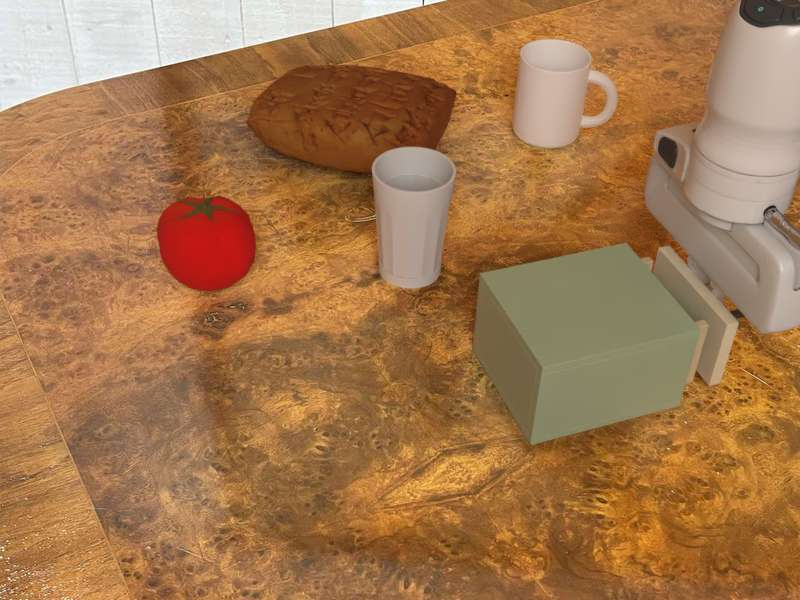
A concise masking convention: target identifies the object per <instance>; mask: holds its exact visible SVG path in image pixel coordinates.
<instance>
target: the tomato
mask: <svg viewBox="0 0 800 600" xmlns="http://www.w3.org/2000/svg"><path fill="white" fill-rule="evenodd" d="M176 199H177V201H175V202H172V203H171V204H169V205H167V207H166V208H165V209H163V211H162V213H161V215H160V216H159V218H158V221H157V226H156V236H157V241H158V248H159V255H160V258H161V261H162V262H163V264H164V266H165V268H166V269H167V271H168V273H170V275H171V276H172V277H173V278H174V279H175V280H176V281H178V282H179V283H180V284H182V285H183V286H185V287H188V288H190V289H192V290H198V291H206V292H212V291H217V290H223V289H224V290H225V289H228V288H230V287H232V286H233V285H235V284H236V283H237V282H240V280H242V279H243V278H245V277H246V276H247V274H248V273H249V271H250V269H251V268H252V266H253V265H254V262H255V259H256V249H257V242H256V241H257V240H256V232H255V231H254V226H253V224H252V220H251V217H250V214H248V213H247V211H246V210H245V209H244V208H243V207H242V206H241V205H240V204H239V203H236V202H235V201H233V200H232V199H230V198H228V197H225V196H221V195H216V196H214V195H212V196H210V197H207V198H198V197H190V196H188V197H185V198H183V199H182V198H179V197H176Z"/></svg>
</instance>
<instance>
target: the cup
mask: <svg viewBox="0 0 800 600" xmlns="http://www.w3.org/2000/svg"><path fill="white" fill-rule="evenodd" d="M371 174H372V175H371V177H372V187H373V188H372V189H373V198H374V199H373V200H374V212H375V228H376V239H377V240H376V241H377V253H378V254H377V255H378V273H379V275H380V277H381V278H382V280H384V281H385V282H386V283H388V284H390V285H392V286H393V287H396V288H400V289H406V290H407V289H408V290H409V289H410V290H411V289H412V290H413V289H420V288H425V287H428V286H430V285H432V284H433V283H435V282H436V281H437V280H438V279H439V278H440V275H441V273H442V271H441V270H442V256H443V255H442V254H443V250H444V244H445V238H446V232H447V231H446V230H447V225H448V219H449V213H450V208H451V207H450V206H451V203H452V199H453V194H454V190H455V189H454V188H455V182H456V178H457V167H456V165H455V162H454V161H453V160H452V159H451V158H450V157H449V156H447V155H446V154H445V153H442V152H440V151H438V150H435V149H434V150H432V149H429V148H423V147H400V148H395V149H392V150H389V151H386V152H384V153H383V154H381V155H380V156H378V157H377V158H376V159H375V161H374V162H373V165H372V173H371Z"/></svg>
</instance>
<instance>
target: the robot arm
mask: <svg viewBox="0 0 800 600" xmlns="http://www.w3.org/2000/svg"><path fill="white" fill-rule="evenodd" d="M731 9H732V10H731V11H730V13H729V15H728V17H727V19H726V21H725V24H724V26H723V28H722V31H721V33H720V35H719V38H718V42H717V44H716V48H715V50H714V54H713V58H712V61H711V66H710V68H709V72H708V77H707V80H706V85H705V93H704V96H705V97H704V98H705V110H704V114H703V116H702V118H701V120H700V121H696V122H688V123H684V124H683V123H682V124H679V125H674V126H669V127H665V128H662V129H658V130H657V131H656V132H655V134H654V137H653V143H652V144H653V147H652V148H653V150H654V153H653V154H652V156H651V158H650V160H649V165H648V168H647V171H646V177H645V182H644V188H643V199H644V203H645V207H646V210H647V211H648V213H649V214H651V216H652V217H653V218H654V219H655V220H656V221H657V222H658V223H659V224H660V225H661V227H662V228H663V229H664V230H665V231H666V232H667V233H668V234H669V235H670V236H671V238H672V239H673V240H675V242H676V243H677V244H678V245H679V246H680V247H681V249H683V250H684V252H685V253H686V254H687V255H688V256H687V258H686V259H687V261H686V262H687V265H688V267H689V269H690V270H691V271H692V272H694V273H695V274H696V275H697V276H698V278H699V279H700V280H701V281H702V282H703V283H704V284H705V285H706V286H707V287H708V289H709V290H710V292H711V293H712V294H713V295H714V296H715V297H717V298H718V300H719V301H720V302H721V303H722V304H723V305H724V304H725V301H726V299H729V301H730V302H731V304H733V305H734V306H735V307H736V309H739V310H740V311H741V313H742V314H743V315H744V316H745V317H744V318H746V319H747V320H748V322H749V323H751V325H752V326H753V327H754V328H755V329H756V330H757V331H758V333H760V334H762V335H770V334H771V335H772V334H778V333H782V332H786V331H790V330H792V329H796V328H798V327H799V326H800V230H799V229H797V228H796V227H795V226H794V225H793V224H792V223H791V221H790V220H789V219H788V218H787V216H785V214H786V213H787V212H788V210H789V209H790V205H791V203H792V200H793V197H794V194H795V191H796V188H797V184H798V180H799V178H800V0H736V2H735V4H734V6H733V8H731Z"/></svg>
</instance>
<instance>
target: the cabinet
mask: <svg viewBox="0 0 800 600" xmlns="http://www.w3.org/2000/svg"><path fill="white" fill-rule="evenodd" d="M474 319H475V321H474V329H473V340H472V347H471V348H472V352H473V353H474V354H475V356H476V359H477V360H478V361H479V363H480V365H481V367H482V368H483V370H484V371H485V373H486V374H487V376H488V378H489V379H490V381H491V383H492V385H493V386H494V387H495V389H496V392H497V393H498V394H499V396H500V398H501V399H502V401H503V403H504V404H505V406H506V407H507V409H508V411H509V412H510V414H511V416H512V418H513V420H514V421H515V423H516V424H517V426H518V428H519V429H520V431H521V432H522V434H523V435H524V437H525V440H527V442H528V444H529V446H533V445H537V444H541V443H544V442H549V441H553V440H556V439H560V438H564V437H567V436H571V435H576V434H578V433H583V432H587V431H591V430H594V429H598V428H601V427H606V426H609V425H613V424H618V423H621V422H625V421H628V420H632V419H637V418H640V417H644V416H647V415H648V416H649V415H651V414H654V413H655V414H656V413H659V412H664V411H667V410H671V409H674V408H678V407H680V405H681V402H682V398H683V395H684V390H685V388H686V381H687V377H688V374H689V370H690V367H691V363H692V360H693V356H694V353H695V349H696V346H697V342H698V339H699V335H700V332H701V329H700V328H699V327H698V325H697V324H696V323H695V322H694V321H693V320H692V318H691V317H690V316H689V315H688V314H687V313H686V311H685V310H684V309H683V308H682V307H681V306H680V304H679V303H678V302H677V301H676V300H675V299H674V297H673V296H672V295H671V294H670V293H669V292H668V290H667V289H666V288H665V287H664V286H663V285H662V283H661V282H660V281H659V280H658V279H657V278H656V277H655V275H654V274H653V271H652V270H651V271H650V270H649V268H648V267H647V266H646V265H645V264H644V263H643V261H642V260H641V257H640V256H639V255H638V254H637V253H636V252H635V251H634V250H633V249H632V247H631V246H630V245H629V244H628V243H627V242H622V243H617V244H613V245H608V246H604V247H603V246H602V247H598V248H594V249H590V250H585V251H579V252H575V253H570V254H564V255H561V256H556V257H552V258H551V257H550V258H547V259H542V260H536V261H533V262H527V263H523V264H517V265H513V266H509V267H503V268H498V269H494V270H489V271H484V272H480V273H479V279H478V290H477V301H476V310H475V318H474Z"/></svg>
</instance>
